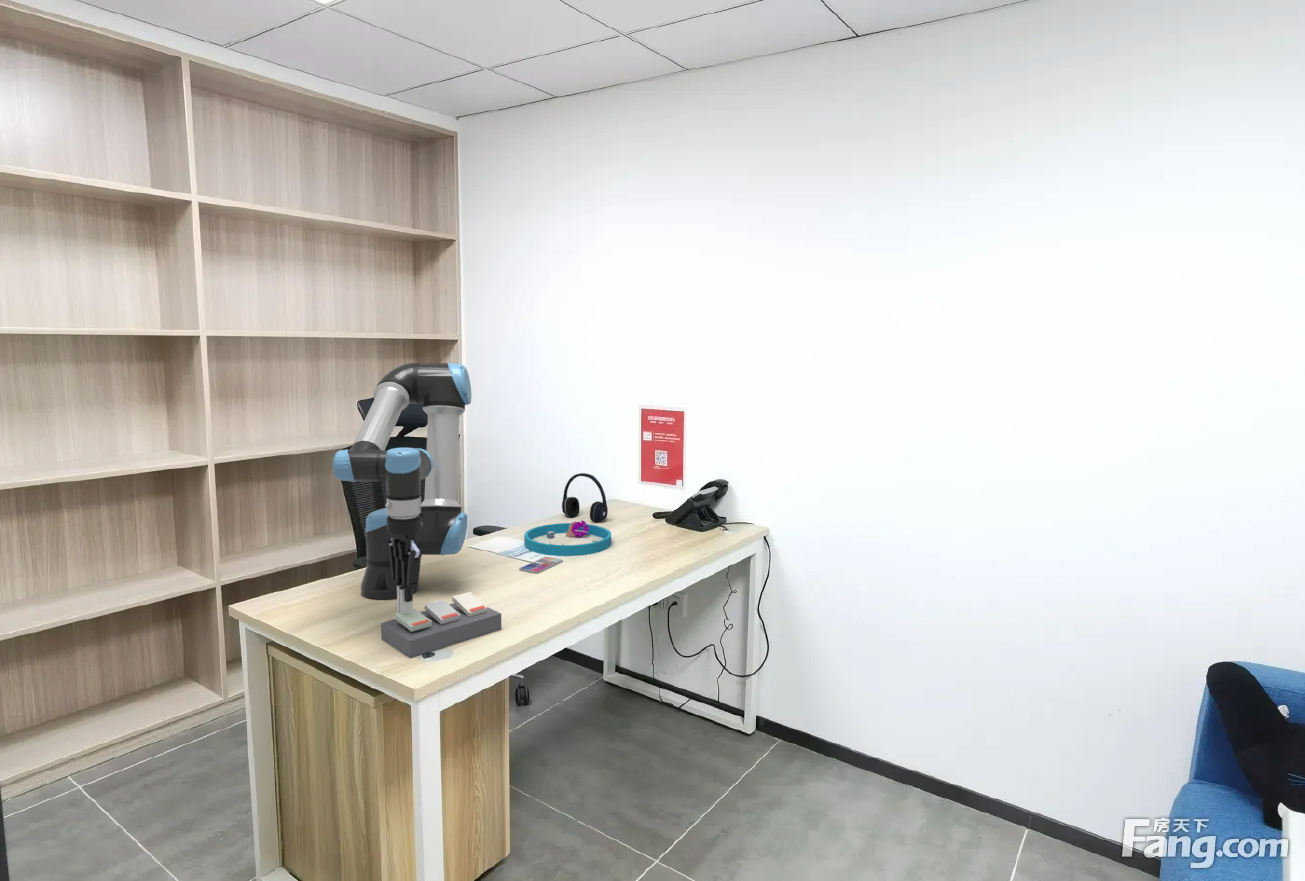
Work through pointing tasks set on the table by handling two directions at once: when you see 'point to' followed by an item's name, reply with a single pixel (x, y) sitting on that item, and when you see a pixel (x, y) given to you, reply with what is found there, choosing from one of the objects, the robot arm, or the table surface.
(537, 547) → the teal round tray
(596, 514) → the headphones
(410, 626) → the sage rocker
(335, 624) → the table surface
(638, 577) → the table surface
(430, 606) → the grey rocker
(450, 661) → the table surface
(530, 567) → the smartphone
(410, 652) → the rocker switch panel
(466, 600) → the cream rocker
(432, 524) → the robot arm
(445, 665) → the table surface
